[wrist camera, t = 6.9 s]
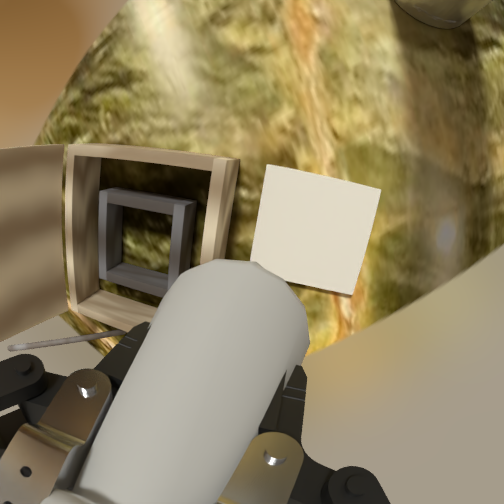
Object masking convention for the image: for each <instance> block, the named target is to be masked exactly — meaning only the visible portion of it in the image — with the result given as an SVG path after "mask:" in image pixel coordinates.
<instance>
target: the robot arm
mask: <svg viewBox="0 0 504 504" xmlns="http://www.w3.org/2000/svg"><path fill="white" fill-rule="evenodd" d="M491 1H493V0H395V2H396V3H397V4H398V5H399V6H400V7H401V8H402V9H403V10H405V11H406V12H407V13H408V14H410V15H411V16H413V17H414V18H416V19H417V20H419V21H421V22H423V23H425V24H428V25H430V26H434V27H437V28H444V29H450V28H455V27H458V26H460V25H461V24H462V23H464V22H465V21H466V20H468V19H469V18H470V17H471V16H473V15H474V14H475V13H477V12H478V11H480V10H481V9H482V8H483V7H485V6H486V5H487V4H489V3H490V2H491ZM149 325H150V322H147V321H145V322H143V323H141V324H139V325H136V326H134V327H133V328H132V329H131V330H130V331H129V332H128V333H127V334H126V335H125V337H123V338H122V339H121V340H120V341H119V344H117V345H116V346H115V347H114V348H113V349H112V350H111V351H110V352H109V353H108V354H107V355H106V356H105V357H104V358H103V359H102V361H101V362H100V363H99V364H98V365H97V366H96V367H95V368H94V369H80V370H77V371H75V372H73V373H71V374H70V375H69V376H68V377H66V376H62V375H58V374H53V373H49V372H45V369H44V365H43V363H42V361H41V360H40V359H39V358H38V357H36V356H34V355H31V354H21V355H17V356H14V357H11V358H9V359H6V360H3V361H1V362H0V411H2V410H5V409H7V408H10V407H12V406H14V405H17V404H18V406H19V407H20V409H18V410H15V411H13V412H11V413H8V414H6V415H3V416H1V417H0V504H41V502H42V501H43V500H44V499H45V498H47V497H49V496H50V495H51V494H52V493H53V491H54V490H55V489H60V490H66V489H67V490H71V491H72V490H73V488H74V485H75V483H76V481H77V478H78V476H79V474H80V471H81V469H82V467H83V465H84V462H85V460H86V458H87V456H88V453H89V451H90V449H91V447H92V445H93V442H94V440H95V438H96V436H97V434H98V432H99V430H100V427H101V425H102V423H103V421H104V419H105V417H106V415H107V413H108V411H109V409H110V407H111V405H112V403H113V401H114V398H115V396H116V394H117V392H118V390H119V388H120V386H121V384H122V382H123V380H124V378H125V376H126V375H127V373H128V371H129V369H130V367H131V365H132V363H133V361H134V359H135V357H136V355H137V353H138V351H139V349H140V348H141V346H142V344H143V342H144V340H145V338H146V336H147V334H148V331H149V329H150V327H151V326H150V327H149ZM151 325H152V324H151ZM148 327H149V328H148ZM286 371H287V370H286ZM285 377H286V372H285V374H284V376H283V377H282V379H281V381H280V383H279V386H278V388H277V390H276V392H275V394H274V396H273V398H272V400H271V403H270V405H269V407H268V409H267V411H266V413H265V415H264V417H263V419H262V421H261V423H260V425H259V427H258V436H257V437H255V438H254V439H253V440H252V441H251V443H250V444H249V446H248V448H247V450H246V452H245V453H244V455H243V457H242V459H241V461H240V462H239V464H238V466H237V468H236V469H235V471H234V473H233V475H232V476H231V478H230V480H229V482H228V483H227V485H226V487H225V488H224V490H223V492H222V493H221V495H220V497H219V498H218V500H217V501H216V502H215V503H214V504H390V502H389V500H388V498H387V496H386V495H385V493H384V491H383V489H382V487H381V486H380V483H379V482H378V480H377V478H376V477H375V476H374V475H373V474H372V473H371V472H370V471H368V470H366V469H364V468H361V467H356V466H349V467H344V468H341V469H339V470H337V471H335V470H332V469H330V468H328V467H325V466H323V465H321V464H319V463H317V462H315V461H314V460H312V459H311V458H310V457H309V456H308V455H307V454H306V453H305V451H304V449H303V447H302V444H301V433H302V425H303V415H304V405H305V394H306V392H305V391H306V384H307V376H306V374H305V372H304V370H303V368H302V366H299V365H296V366H295V368H294V370H293V372H292V374H291V376H290V378H289V380H288V382H287V384H286V388H284V383H285ZM283 388H284V390H283Z"/></svg>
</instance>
